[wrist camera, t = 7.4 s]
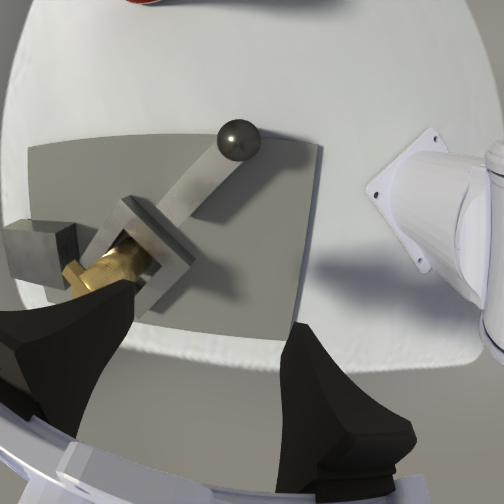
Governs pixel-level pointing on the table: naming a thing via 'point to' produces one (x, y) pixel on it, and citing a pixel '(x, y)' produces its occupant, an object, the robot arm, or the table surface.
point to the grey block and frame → (94, 250)
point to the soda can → (142, 1)
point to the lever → (211, 170)
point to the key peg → (109, 268)
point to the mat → (192, 223)
